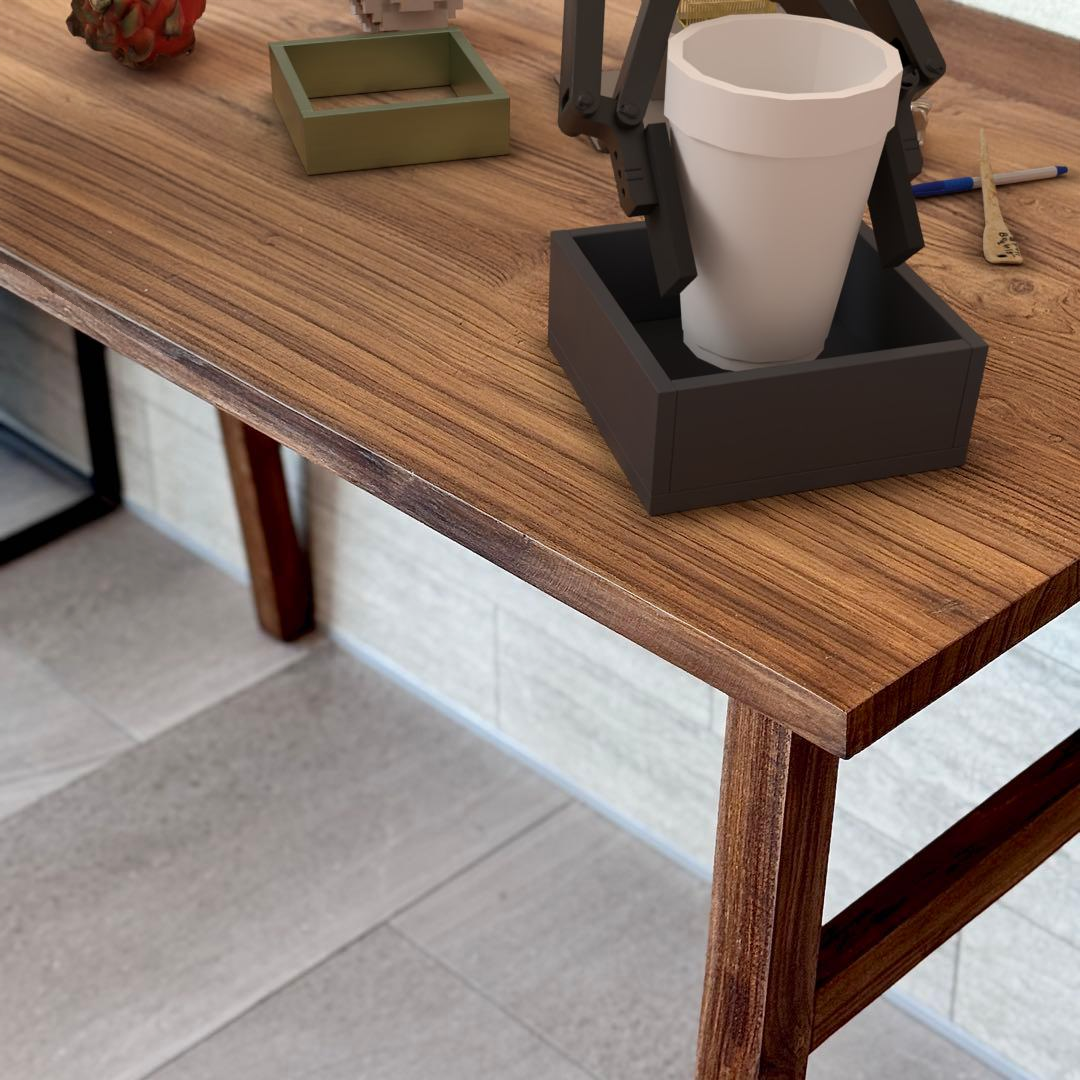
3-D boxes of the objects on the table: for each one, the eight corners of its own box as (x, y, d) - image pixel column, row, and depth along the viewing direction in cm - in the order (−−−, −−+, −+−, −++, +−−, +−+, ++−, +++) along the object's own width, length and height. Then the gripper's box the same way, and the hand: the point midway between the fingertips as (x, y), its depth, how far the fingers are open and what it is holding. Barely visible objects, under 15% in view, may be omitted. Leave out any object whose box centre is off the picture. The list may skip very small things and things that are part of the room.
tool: (1000, 133, 98) (965, 132, 98) (1002, 122, 97) (967, 121, 97) (1022, 273, 88) (983, 271, 88) (1024, 262, 88) (986, 260, 88)
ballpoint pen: (903, 198, 95) (912, 205, 94) (905, 183, 94) (914, 190, 93) (1061, 171, 98) (1071, 178, 97) (1064, 157, 97) (1074, 164, 96)
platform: (885, 129, 102) (901, 22, 98) (597, 149, 98) (602, 40, 94) (817, 58, 111) (830, -42, 107) (553, 74, 108) (556, -28, 104)
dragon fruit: (119, 119, 105) (150, 75, 115) (223, 37, 103) (245, 0, 113) (23, 5, 101) (64, -29, 112) (129, -81, 99) (161, -108, 110)
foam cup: (623, 370, 72) (639, 80, 64) (673, 274, 79) (694, 2, 71) (842, 408, 70) (887, 113, 62) (873, 307, 77) (917, 30, 69)
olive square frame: (307, 175, 95) (303, 117, 93) (272, 96, 104) (268, 41, 102) (509, 154, 98) (510, 97, 96) (458, 79, 107) (458, 25, 105)
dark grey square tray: (649, 516, 69) (658, 392, 66) (547, 344, 80) (550, 230, 77) (965, 465, 73) (990, 345, 69) (825, 307, 84) (840, 196, 80)
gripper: (881, -189, 78) (987, 269, 76) (422, -162, 73) (519, 331, 70) (954, -291, 71) (1074, 211, 68) (450, -270, 66) (559, 276, 63)
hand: (793, 272), depth 69 cm, fingers closed on foam cup, 9 cm apart
